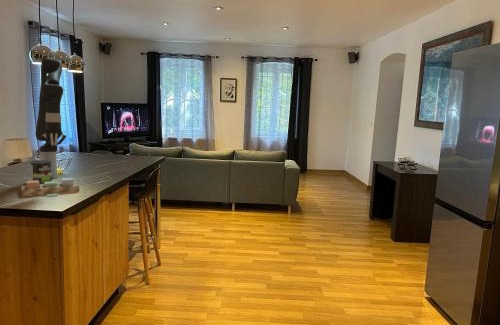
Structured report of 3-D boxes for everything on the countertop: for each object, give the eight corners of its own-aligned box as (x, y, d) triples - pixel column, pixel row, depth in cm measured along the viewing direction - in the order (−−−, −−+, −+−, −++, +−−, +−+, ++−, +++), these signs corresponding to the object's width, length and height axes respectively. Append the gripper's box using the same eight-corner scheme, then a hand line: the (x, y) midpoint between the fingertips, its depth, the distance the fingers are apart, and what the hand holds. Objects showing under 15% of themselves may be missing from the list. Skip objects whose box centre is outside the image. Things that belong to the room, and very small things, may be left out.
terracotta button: (27, 190, 194) (26, 183, 193) (27, 188, 199) (26, 181, 198) (39, 189, 197) (38, 182, 196) (38, 187, 201) (38, 180, 201)
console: (22, 196, 191) (21, 190, 190) (22, 192, 200) (21, 185, 199) (79, 191, 205) (79, 185, 204) (76, 187, 214) (76, 181, 213)
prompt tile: (47, 197, 192) (47, 195, 192) (46, 194, 196) (46, 193, 196) (57, 196, 194) (57, 194, 194) (57, 193, 199) (57, 192, 199)
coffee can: (55, 185, 218) (54, 161, 216) (38, 188, 210) (36, 163, 207) (46, 182, 224) (44, 159, 221) (28, 185, 215) (26, 161, 213)
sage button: (45, 191, 198) (45, 183, 198) (44, 188, 203) (44, 181, 202) (57, 190, 201) (56, 183, 201) (56, 187, 206) (55, 181, 205)
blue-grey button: (62, 187, 203) (62, 180, 202) (61, 185, 207) (61, 178, 207) (73, 186, 205) (73, 179, 205) (72, 184, 210) (72, 177, 209)
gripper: (66, 120, 210) (67, 150, 213) (39, 120, 203) (40, 150, 206) (67, 121, 203) (67, 152, 206) (39, 121, 197) (40, 153, 200)
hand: (54, 151), depth 206 cm, fingers closed
